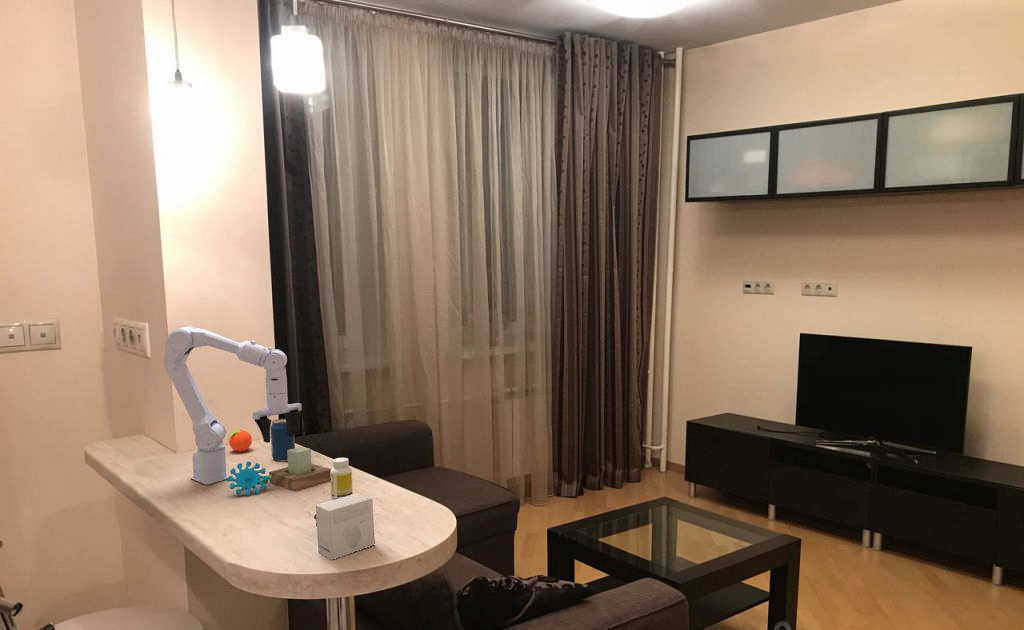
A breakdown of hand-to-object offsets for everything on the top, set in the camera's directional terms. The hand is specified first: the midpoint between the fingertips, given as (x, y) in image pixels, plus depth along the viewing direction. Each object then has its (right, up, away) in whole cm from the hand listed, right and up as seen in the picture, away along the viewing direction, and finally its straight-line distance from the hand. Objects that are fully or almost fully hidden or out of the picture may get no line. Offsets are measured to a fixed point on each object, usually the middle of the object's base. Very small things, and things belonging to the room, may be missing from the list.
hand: (278, 439), depth 201 cm
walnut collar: (+8, -11, -5) cm, 14 cm away
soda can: (-4, -9, +17) cm, 20 cm away
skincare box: (+32, -14, -52) cm, 63 cm away
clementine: (-22, -9, +26) cm, 35 cm away
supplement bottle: (+23, -12, -19) cm, 32 cm away
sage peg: (+8, -11, -5) cm, 14 cm away
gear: (-3, -12, -14) cm, 18 cm away
